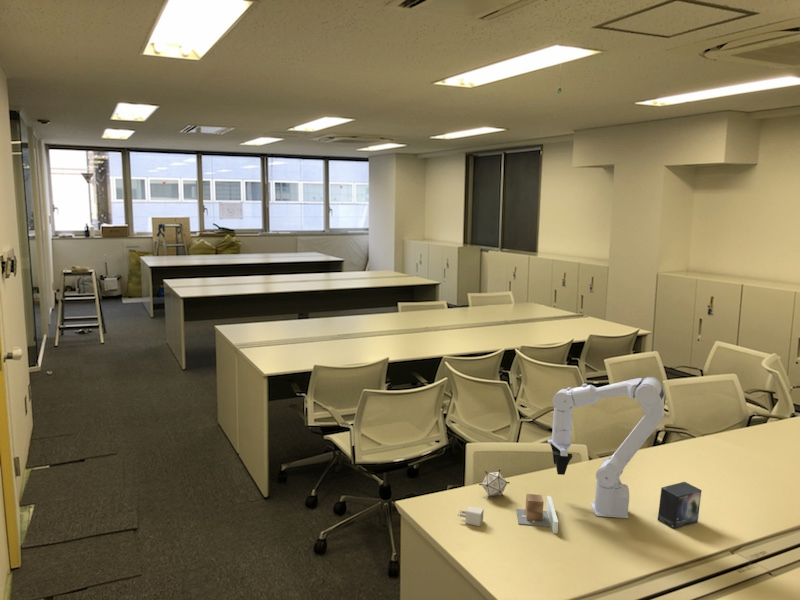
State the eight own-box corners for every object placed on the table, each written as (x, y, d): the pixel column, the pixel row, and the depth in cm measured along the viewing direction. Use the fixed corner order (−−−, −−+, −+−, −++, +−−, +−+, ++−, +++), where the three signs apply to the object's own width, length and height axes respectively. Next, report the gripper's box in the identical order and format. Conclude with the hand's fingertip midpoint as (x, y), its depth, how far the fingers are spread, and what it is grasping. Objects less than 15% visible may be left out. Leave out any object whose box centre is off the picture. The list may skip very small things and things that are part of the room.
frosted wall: (550, 506, 191) (550, 496, 190) (557, 533, 175) (558, 522, 175) (546, 506, 191) (547, 495, 191) (553, 533, 175) (553, 521, 175)
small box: (675, 530, 179) (678, 496, 177) (656, 520, 184) (659, 487, 183) (699, 522, 184) (702, 489, 182) (680, 513, 189) (683, 480, 188)
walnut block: (540, 513, 186) (541, 494, 185) (542, 521, 181) (543, 501, 180) (525, 512, 186) (526, 493, 185) (526, 520, 182) (527, 500, 181)
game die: (498, 508, 197) (508, 493, 190) (473, 496, 198) (482, 481, 191) (504, 485, 203) (515, 470, 196) (481, 474, 204) (490, 458, 197)
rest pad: (546, 511, 188) (546, 510, 188) (550, 526, 179) (550, 525, 179) (516, 509, 189) (516, 508, 189) (518, 524, 180) (518, 523, 180)
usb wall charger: (480, 527, 178) (480, 514, 177) (456, 522, 180) (457, 509, 179) (483, 521, 181) (483, 508, 181) (460, 516, 184) (460, 503, 183)
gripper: (546, 419, 201) (543, 459, 203) (551, 435, 186) (549, 477, 188) (568, 420, 200) (565, 460, 202) (575, 436, 186) (572, 479, 188)
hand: (559, 469), depth 195 cm, fingers open, 7 cm apart
